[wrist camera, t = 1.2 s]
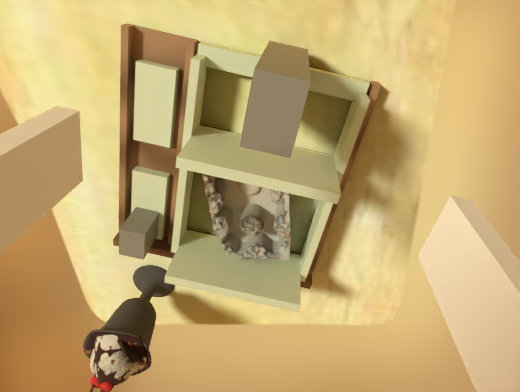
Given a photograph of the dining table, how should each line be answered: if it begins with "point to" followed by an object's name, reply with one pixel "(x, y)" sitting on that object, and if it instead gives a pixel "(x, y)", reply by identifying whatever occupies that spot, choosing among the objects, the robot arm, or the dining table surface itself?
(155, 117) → the broken strip
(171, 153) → the frame
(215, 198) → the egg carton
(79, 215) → the dining table surface
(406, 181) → the dining table surface
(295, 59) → the sage green shelf unit
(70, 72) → the dining table surface
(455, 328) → the robot arm
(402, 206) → the dining table surface
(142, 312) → the sundae
